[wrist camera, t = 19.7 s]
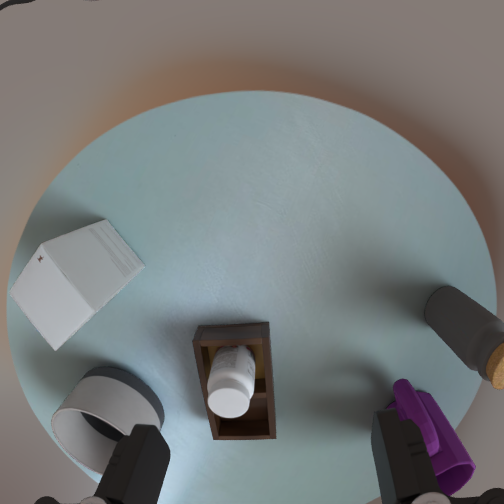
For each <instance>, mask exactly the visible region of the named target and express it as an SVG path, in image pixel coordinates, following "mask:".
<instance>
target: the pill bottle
mask: <svg viewBox="0 0 504 504" xmlns="http://www.w3.org/2000/svg"><path fill="white" fill-rule="evenodd" d="M255 362H256V361H255V355H254V353H253V351H252V350H251V349H250V348H249V347H248V346H247V345H234V346H220V347H219V348H218V349H217V351H216V353H215V356H214V359H213V364H212V367H211V371H210V375H209V379H208V384H207V390H208V393H209V394H208V405H209V408H210V409H211V410H212V411H213V412H214V413H215V414H217V415H219V416H221V417H225V418H235V417H239V416H241V415H243V414H244V413H245V412H246V411H247V410H248V408H249V403H250V399H251V397H252V395H253V392H254V383H255Z"/></svg>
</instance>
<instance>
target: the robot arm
mask: <svg viewBox="0 0 504 504" xmlns="http://www.w3.org/2000/svg"><path fill="white" fill-rule="evenodd" d="M32 1H35V0H9V1H7V2H5V3H3V4H1V5H0V10H2V9H3V8H5V7H7V6H9V5H14V4H21V3H29V2H32ZM371 445H372V451H373V456H374V461H375V466H376V471H377V477H378V482H379V487H380V493H381V499H382V504H504V489H501V488H493V489H490V490H487V491H486V492H484V493H483V494H482V495H481V496H480V497H469V498H468V497H467V498H454V497H450V496H448V495H446V494H445V493H444V492H443V491H442V490H441V489H440V487H439V485H438V482H437V479H436V475H435V472H434V469H433V466H432V463H431V459H430V456H429V453H428V452H427V447H426V444H425V442H424V438H423V436H422V433H421V430H420V428H419V427H418V426H417V425H416V424H415V423H414V422H413V421H412V420H411V419H407V420H403V421H400V419H399V416H398V413H397V410H396V408H391V409H386V410H381V411H376V412H374V417H373V426H372V433H371ZM169 461H170V449H169V446H168V444H167V443H166V441H165V440H164V438H163V436H162V435H161V433H160V431H159V430H158V428H157V427H156V426H155V425H149V424H135V425H134V427H133V429H132V431H131V433H130V436H129V435H125V436H124V437H123V438H122V439H121V440H120V441H119V442H118V443H117V444H116V446H115V449H114V451H113V453H112V456H111V458H110V460H109V464H108V465H107V467H106V469H105V471H104V474H103V476H102V478H101V481H100V483H99V485H98V488H97V490H96V492H95V494H94V496H92V497H87V498H85V499H83V500H82V501H81V502H80V503H79V504H157V501H158V498H159V495H160V491H161V488H162V484H163V481H164V478H165V474H166V471H167V468H168V465H169ZM35 504H60V503H59V502H57V501H56V500H55V499H54V498H52V497H49V496H45V497H42V498H40V499H38V500H37V501H36V502H35Z"/></svg>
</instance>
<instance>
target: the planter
mask: <svg viewBox="0 0 504 504" xmlns="http://www.w3.org/2000/svg"><path fill="white" fill-rule="evenodd" d="M163 423H164V410H163V406H162V404H161V402H160V400H159V398H158V397H157V395H156V394H155V393H154V392H153V390H152V389H151V388H150V387H149V386H147V385H146V384H145V383H144V382H143V381H141V380H140V379H138V378H137V377H135V376H134V375H132V374H130V373H128V372H125V371H123V370H120V369H116V368H111V367H98V368H94V369H92V370H90V371H89V372H87V373H86V374H85V375H84V377H83V378H82V379H81V380H80V382H79V383H78V384H77V385H76V387H75V388H74V389H73V390H72V391H71V393H70V394H69V395H68V397H67V398H66V399H65V400H64V402H63V403H62V404H61V405H60V407H59V408H58V409H57V410H56V412H55V413H54V414H53V416H52V420H51V425H52V430H53V433H54V435H55V437H56V439H57V440H58V442H59V443H60V445H61V446H62V447H63V449H64V450H65V451H66V452H67V453H68V454H69V455H70V456H71V457H72V458H74V459H75V460H76V461H77V462H79V463H80V464H82V465H83V466H85V467H86V468H88V469H90V470H92V471H94V472H96V473H98V474H100V475H103V474H104V471H105V469H106V467H107V465H108V464H109V460H110V458H111V456H112V453H113V451H114V449H115V446H116V444H117V443H118V442H119V441H120V440H121V439H122V438H123V437H124V436H125V435H129V436H130V433H131V431H132V429H133V427H134V425H135V424H149V425H155V426H156V427H157V428H158V430H159V431H160V430H161V428H162V425H163Z"/></svg>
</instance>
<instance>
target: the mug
mask: <svg viewBox="0 0 504 504" xmlns="http://www.w3.org/2000/svg"><path fill="white" fill-rule="evenodd" d="M393 391H394V394H395V399H396V401H395V402H393V403H392V404H390V405H389V406H388V407H387V409H391V408H396V410H397V413H398V416H399V419H400V421H403V420H407V419H411V420H412V421H413V422H414V423H415V424H416V425H417V426H418V427H419V428H420V430H421V433H422V436H423V438H424V442H425V444H426V447H427V452H428V453H429V456H430V459H431V463H432V466H433V469H434V472H435V475H436V479H437V482H438V485H439V487H440V489H441V490H442V491H443V492H444V493H445V494H446V495H448V496H451V495H452V494H454V493H455V492H456V491H458V490H460V489H461V488H462V486H464V485H465V484H466V483H467V482H468V481H469V480H470V479H471V477H472V475H473V473H474V470H475V468H476V466H475V464H474V463H473V461H472V459H471V458H470V456H469V454H468V452H467V451H466V449H465V447H464V446H463V444H462V442H461V441H460V439H459V438H458V436H457V434H456V433H455V431H454V429H453V428H452V426H451V425H450V423H449V421H448V420H447V418H446V417H445V415H444V414H443V412H442V410H441V409H440V407H439V406H438V404H437V403H436V401H435V400H434V399H433V397H432V396H431V395H430V394H429V393H425V392H418V391H415V390H414V388H413V387H412V385H411V384H410V382H409V381H408V380H407V379H399V380H397V381H396V382H395V383H394V385H393Z"/></svg>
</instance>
